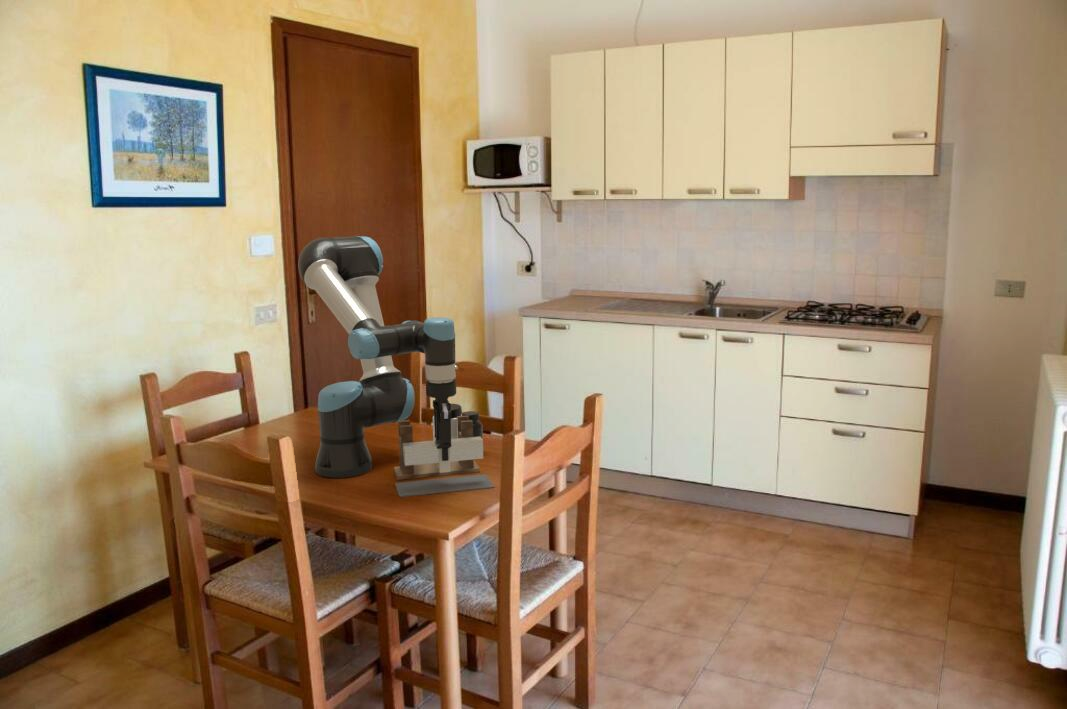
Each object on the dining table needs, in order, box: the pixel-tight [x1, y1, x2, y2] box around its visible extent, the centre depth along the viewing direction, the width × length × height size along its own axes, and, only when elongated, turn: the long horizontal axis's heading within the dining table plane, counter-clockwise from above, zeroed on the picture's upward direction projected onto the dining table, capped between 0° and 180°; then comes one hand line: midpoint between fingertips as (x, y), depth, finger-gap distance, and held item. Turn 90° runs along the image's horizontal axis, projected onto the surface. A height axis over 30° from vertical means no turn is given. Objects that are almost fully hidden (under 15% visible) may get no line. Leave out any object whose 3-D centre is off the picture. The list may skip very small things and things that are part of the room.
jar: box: [432, 403, 463, 441], centre depth 249 cm, size 9×8×12 cm
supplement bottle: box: [462, 410, 484, 440], centre depth 242 cm, size 7×7×12 cm
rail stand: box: [393, 416, 481, 481], centre depth 226 cm, size 22×8×14 cm, turn 105°
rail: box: [403, 437, 484, 466], centre depth 215 cm, size 20×3×5 cm, turn 105°
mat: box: [394, 473, 495, 498], centre depth 216 cm, size 24×10×1 cm, turn 105°
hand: (443, 469), depth 216 cm, fingers closed on rail, 3 cm apart
